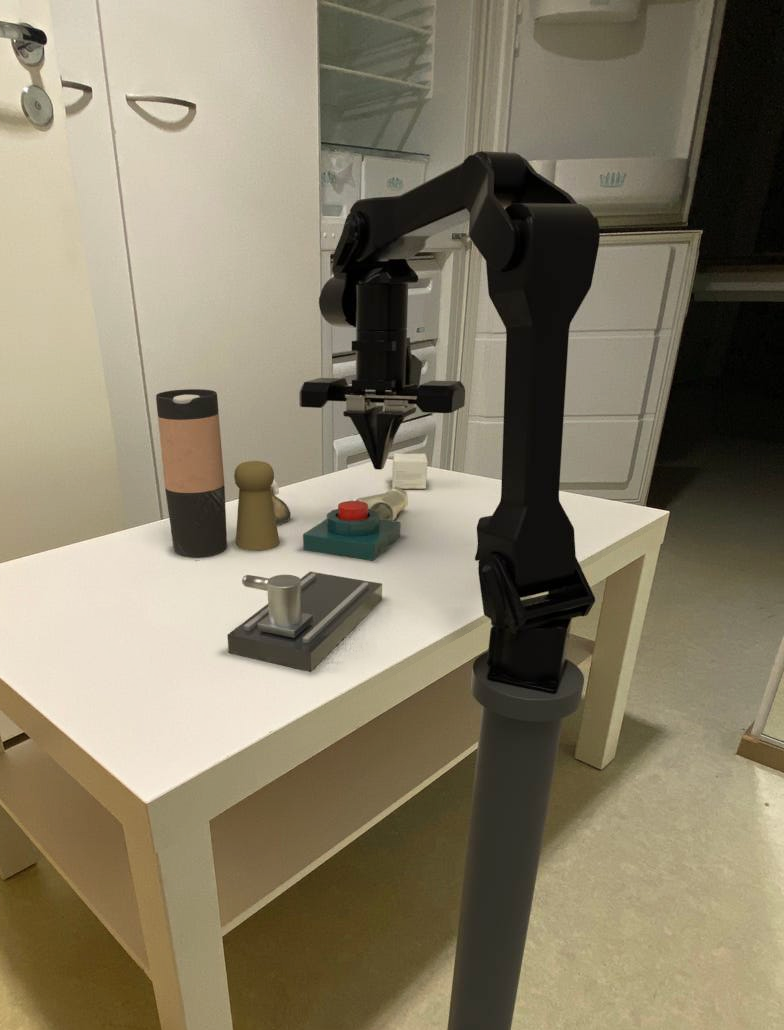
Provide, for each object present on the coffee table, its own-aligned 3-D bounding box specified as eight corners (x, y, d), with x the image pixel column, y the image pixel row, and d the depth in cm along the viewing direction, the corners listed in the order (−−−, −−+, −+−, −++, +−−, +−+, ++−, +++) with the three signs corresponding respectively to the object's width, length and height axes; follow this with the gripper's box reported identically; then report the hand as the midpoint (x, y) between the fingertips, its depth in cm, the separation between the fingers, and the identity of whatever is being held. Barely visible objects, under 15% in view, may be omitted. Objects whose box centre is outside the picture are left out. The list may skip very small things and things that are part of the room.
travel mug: (205, 535, 103) (192, 387, 94) (240, 547, 98) (230, 392, 89) (160, 549, 98) (142, 394, 89) (194, 562, 93) (179, 400, 84)
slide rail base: (382, 599, 81) (382, 579, 80) (311, 671, 67) (310, 648, 66) (310, 587, 85) (309, 567, 84) (228, 652, 71) (226, 629, 70)
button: (372, 515, 98) (372, 502, 97) (361, 523, 94) (361, 510, 94) (345, 511, 99) (345, 499, 98) (333, 520, 96) (333, 507, 95)
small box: (424, 480, 126) (426, 452, 124) (426, 489, 121) (428, 460, 119) (391, 480, 127) (392, 452, 125) (392, 489, 122) (393, 460, 120)
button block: (400, 537, 100) (401, 509, 99) (373, 560, 92) (373, 530, 91) (334, 528, 104) (334, 500, 103) (303, 549, 97) (302, 520, 95)
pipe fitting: (349, 526, 106) (393, 527, 104) (347, 499, 105) (392, 500, 102) (365, 510, 113) (407, 511, 110) (364, 485, 111) (407, 485, 109)
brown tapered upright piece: (263, 553, 96) (259, 470, 91) (226, 545, 99) (220, 464, 94) (288, 540, 100) (285, 460, 95) (252, 533, 103) (248, 455, 98)
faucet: (313, 621, 72) (312, 576, 70) (294, 638, 69) (292, 591, 66) (255, 610, 74) (252, 566, 72) (234, 625, 71) (231, 580, 69)
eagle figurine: (224, 506, 111) (245, 510, 103) (242, 463, 111) (265, 464, 103) (265, 526, 115) (289, 532, 107) (283, 485, 115) (308, 487, 107)
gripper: (482, 325, 84) (472, 460, 91) (335, 326, 92) (336, 451, 99) (454, 331, 75) (446, 480, 82) (295, 331, 83) (299, 468, 90)
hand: (379, 468), depth 88 cm, fingers closed
